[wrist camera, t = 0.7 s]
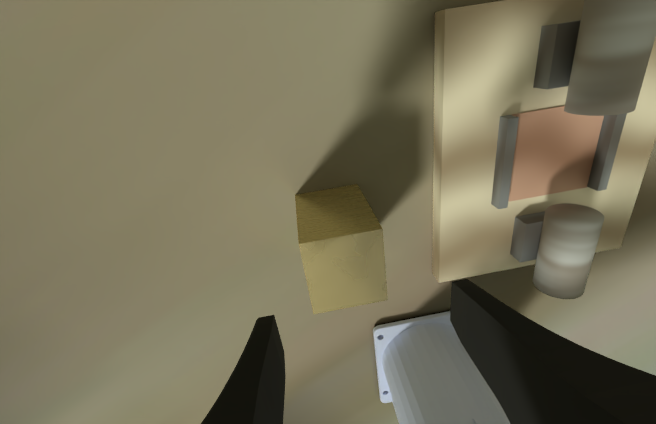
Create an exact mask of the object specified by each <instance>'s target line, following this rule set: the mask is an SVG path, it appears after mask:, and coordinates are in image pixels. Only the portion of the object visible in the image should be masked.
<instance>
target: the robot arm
mask: <svg viewBox="0 0 656 424" xmlns="http://www.w3.org/2000/svg"><path fill="white" fill-rule="evenodd" d="M380 335H381V336H380ZM373 336H374V346H375V355H376V365H377V375H378V385H379V394H380V400H381V402H383V403H388V402H393V405H394V408H395V411H396V415H397V418H398V421H399V424H656V376H655V375H652V374H649V373H647V372H644V371H641V370H638V369H636V368H633V367H630V366H628V365H625V364H622V363H620V362H617V361H615V360H612V359H610V358H607V357H605V356H603V355H600V354H598V353H596V352H593V351H591V350H589V349H587V348H584V347H582V346H580V345H578V344H576V343H574V342H572V341H570V340H568V339H565V338H563V337H561V336H559V335H557V334H555V333H554V332H552V331H550V330H548V329H546V328H544V327H542V326H541V325H539V324H537V323H535V322H534V321H532V320H530V319H528V318H527V317H525V316H523V315H522V314H520V313H518V312H517V311H515V310H513V309H512V308H510V307H509V306H507V305H505V304H504V303H502V302H501V301H499V300H498V299H496V298H495V297H493V296H492V295H490V294H489V293H487V292H486V291H484V290H483V289H481V288H479V287H478V286H476V285H475V284H473V283H472V282H470V281H469V280H467V279H465V280H459V281H454V282H452V290H451V310H450V311H448V312H443V313H438V314H433V315H428V316H423V317H418V318H412V319H407V320H402V321H397V322H392V323H387V324H382V325H378V326H376V327H374V329H373ZM284 394H285V360H284V350H283V346H282V342H281V339H280V335H279V331H278V328H277V324H276V320H275V317H274V315H271V316H266V317H261V318H258V319H257V320H256V323H255V326H254V328H253V331H252V333H251V335H250V338H249V340H248V342H247V344H246V347H245V349H244V351H243V353H242V355H241V357H240V359H239V361H238V363H237V365H236V367H235V369H234V371H233V373H232V374H231V376H230V378H229V380H228V382H227V383H226V385H225V387H224V389H223V390H222V392H221V394H220V395H219V397H218V399H217V400H216V402H215V404H214V405H213V407H212V408H211V410H210V411H209V413H208V414H207V416H206V417H205V419H204V420H203V421H202V423H201V424H283V411H284Z"/></svg>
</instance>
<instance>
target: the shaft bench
mask: <svg viewBox="0 0 656 424" xmlns="http://www.w3.org/2000/svg"><path fill="white" fill-rule="evenodd" d="M655 139H656V0H503V1H496V2H490V3H483V4H476V5H470V6H463V7H457V8H450V9H444V10H441V11H437V12H435V50H434V149H433V248H432V273H433V275H434V276H435V278H436V279H437V281H438V282H439V283H441V282H446V281H451V280H456V279H461V278H466V277H472V276H477V275H482V274H487V273H492V272H497V271H503V270H508V269H513V268H518V267H523V266H529V265H534V264H535V269H534V275H533V283H534V285H535V286H536V288H537V289H539V290H540V291H541V292H543V293H545V294H547V295H549V296H552V297H556V298H560V299H575V298H578V297H580V296H581V295H583V293H584V289H585V286H586V282H587V279H588V275H589V272H590V268H591V264H592V261H593V257H594V254H595V253H596V252H601V251H606V250H611V249H616V248H621V245H622V242H623V239H624V236H625V233H626V229H627V226H628V223H629V220H630V217H631V214H632V211H633V208H634V205H635V201H636V198H637V195H638V192H639V189H640V186H641V183H642V180H643V177H644V173H645V170H646V167H647V164H648V161H649V158H650V155H651V152H652V149H653V146H654V142H655Z"/></svg>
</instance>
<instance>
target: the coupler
mask: <svg viewBox="0 0 656 424" xmlns="http://www.w3.org/2000/svg"><path fill="white" fill-rule="evenodd" d="M295 200H296V214H297V227H298V240H299V247H300V252H301V257H302V262H303V266H304V271H305V276H306V281H307V285H308V290H309V295H310V300H311V304H312V309H313V314H318V313H323V312H328V311H333V310H339V309H344V308H349V307H354V306H359V305H364V304H370V303H375V302H380V301H385V300H388V299H387V285H386V271H385V256H384V242H383V229H382V227H381V225H380V223H379V222H378V220H377V218H376V216H375V215H374V213H373V211H372V209H371V208H370V206H369V204H368V202H367V201H366V199H365V197H364V195H363V194H362V192H361V190H360V188H359V186H358V185H357V184H354V185H348V186H343V187H337V188H331V189H326V190H320V191H314V192H308V193H303V194H297V195H295Z"/></svg>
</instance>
